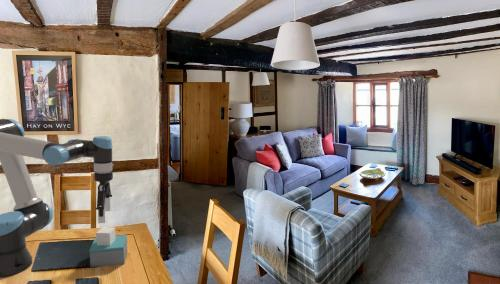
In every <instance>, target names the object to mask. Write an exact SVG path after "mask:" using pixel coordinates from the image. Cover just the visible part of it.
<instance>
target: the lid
mask: <svg viewBox="0 0 500 284" xmlns="http://www.w3.org/2000/svg"><path fill="white" fill-rule="evenodd" d="M115 238H116V240H115V241H114V242H113V243H112V244H111V245H110V246H104V245H97V239H96V236H95V238H94V239H93V242H92V243H91V246H90V248H89V253H90V252H99V251H110V250H120V249H124V246H125V242H126V239H127V240H128V234H122V235H120V234H119V235H115Z"/></svg>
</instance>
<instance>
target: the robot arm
mask: <svg viewBox="0 0 500 284" xmlns="http://www.w3.org/2000/svg"><path fill="white" fill-rule="evenodd" d="M25 133H26V132H25V128H24V127H23V125H22V124H21V123H20V122H19V121H17V120H15V119H13V118H0V164H1V168H2V170H3V173H4V176H5V179H6V181H7V183H8V187H9V190H10V192H11V196H12V198H13V200H14V203H15V205H14V207H13V209H12V211H8V212H4V213H1V214H0V278H2V277H9V276H12V275H16V274H19V273H22V272H23V271H25V270H27V269H29V268H30V267H31V266H32V265H33V257H32V256H33V255H31V252H30V251H29V249H28V248H27V241H26V238H27V237H29V236H30V235H33V234H36V233H37V232H39V231H40V230H42V229H45V227H47V226H48V225H49V224H50V223H51V222H52V220H53V218H54V211H53V209H52V207H51V206H50V205H48V203H46V202H44V201H43V198H40V197H39V196H37V191H36V190H35V187H34V184H33V181H32V179H31V176H30V173H29V170H28V167H27V164H26V161H25V159H24V157H28V158H33V159H38V160H43V161H45V162H46V163H47V164H48V165H50V166H57V165H63V164H65V163H68V162H70V161H71V162H72V161H74V160H77V159H80V158H90V159H91V158H93V175H94V176H93V178H94V179H93V180H94V181H95V182H98V183H99V184H98V185H97V198H96V207H95V210H97V221H98V222H97V223H98V224H106V212H111V210H112V209H111V198H112V197H113V195H112V192H111V181H113V178H114V176H113V175H114V174H113V173H114V171H113V167H114V166H115V164H114V163H113V141H112V140H113V139H112V138H111V137H110V136H108V135H107V136H106V135H97V136H94V137H93V138H92V140H90V139H89V140H88V139H78V138H75V139H69V140H68V141H67V142H65V143H56V142H52V141H46V140H42V139H37V138H31V137H29V136H28V137H27V136H26V134H25Z"/></svg>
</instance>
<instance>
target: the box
mask: <svg viewBox="0 0 500 284" xmlns="http://www.w3.org/2000/svg"><path fill="white" fill-rule="evenodd" d="M127 253H128V238H127V239H126V242H125V246H124V249H120V250H110V251H99V252H89V264H90V268H98V267H108V266H117V265H119V266H120V265H124V264H125V262H126V259H127Z"/></svg>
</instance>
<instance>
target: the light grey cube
mask: <svg viewBox="0 0 500 284" xmlns="http://www.w3.org/2000/svg"><path fill="white" fill-rule="evenodd" d="M115 236H116V227H114V226H112V227H111V226H109V227H106V226H105V227H103V226H102V227H100V229H98V230H97V232H95V237H96V239H97V245H104V246H110V245H111V244H112V243H113V242H114V241H115V240H116V238H115Z"/></svg>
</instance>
